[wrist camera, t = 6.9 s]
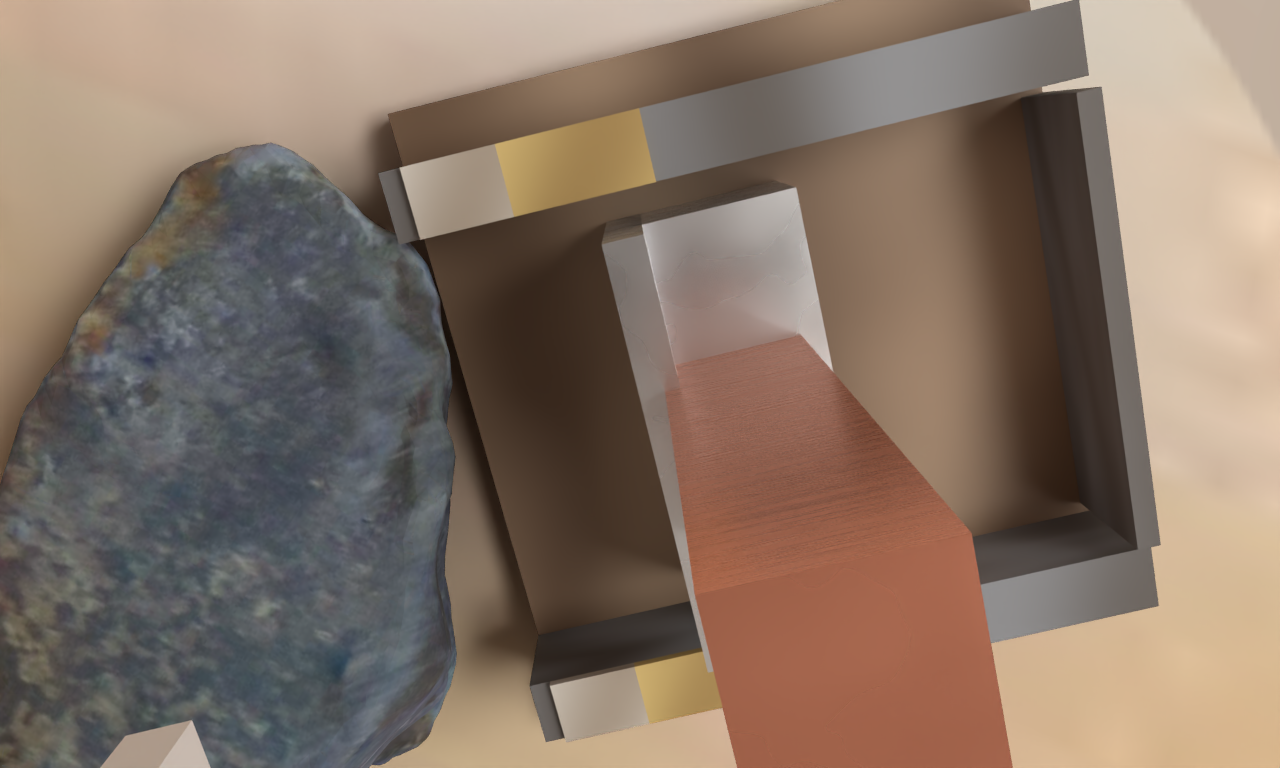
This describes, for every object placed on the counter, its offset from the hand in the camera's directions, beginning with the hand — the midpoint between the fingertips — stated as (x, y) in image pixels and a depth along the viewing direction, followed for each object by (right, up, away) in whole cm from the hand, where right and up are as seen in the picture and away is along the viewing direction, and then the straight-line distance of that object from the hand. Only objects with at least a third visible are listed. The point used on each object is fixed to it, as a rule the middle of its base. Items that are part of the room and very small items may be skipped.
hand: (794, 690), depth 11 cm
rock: (-11, +1, +15) cm, 19 cm away
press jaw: (+1, +3, +14) cm, 14 cm away
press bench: (+2, +4, +15) cm, 15 cm away
